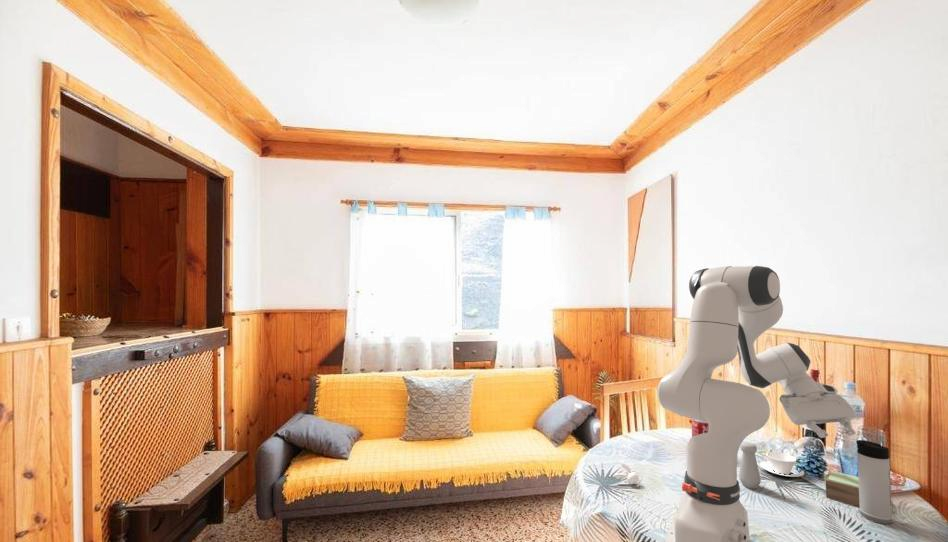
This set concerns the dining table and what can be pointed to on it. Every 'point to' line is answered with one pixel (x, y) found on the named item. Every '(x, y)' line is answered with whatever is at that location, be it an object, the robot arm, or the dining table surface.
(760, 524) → the dining table surface
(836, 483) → the stand
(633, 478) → the rabbit figurine
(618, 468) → the dining table surface
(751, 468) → the salt shaker
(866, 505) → the travel mug
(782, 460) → the teacup
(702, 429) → the soda can
